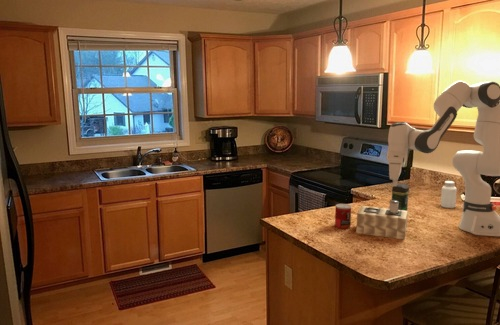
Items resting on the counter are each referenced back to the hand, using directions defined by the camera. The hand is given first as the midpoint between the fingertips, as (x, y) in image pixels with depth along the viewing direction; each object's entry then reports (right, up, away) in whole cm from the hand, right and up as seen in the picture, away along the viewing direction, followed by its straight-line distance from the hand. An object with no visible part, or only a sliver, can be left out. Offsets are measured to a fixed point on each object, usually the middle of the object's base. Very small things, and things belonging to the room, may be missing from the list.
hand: (394, 185), depth 196 cm
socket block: (-4, -23, +6) cm, 24 cm away
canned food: (-22, -22, +14) cm, 34 cm away
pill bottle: (+49, -15, +49) cm, 71 cm away
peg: (0, -17, +3) cm, 18 cm away
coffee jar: (+12, -19, +28) cm, 36 cm away
